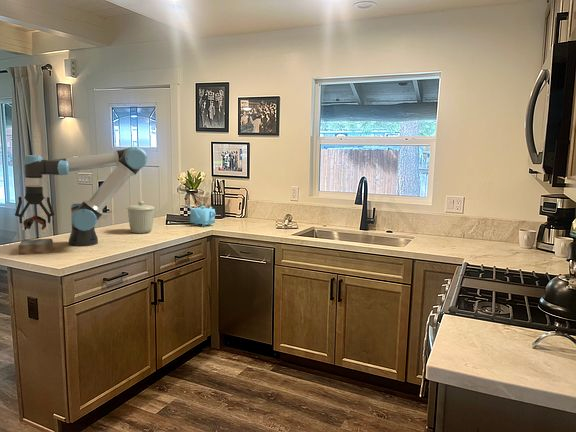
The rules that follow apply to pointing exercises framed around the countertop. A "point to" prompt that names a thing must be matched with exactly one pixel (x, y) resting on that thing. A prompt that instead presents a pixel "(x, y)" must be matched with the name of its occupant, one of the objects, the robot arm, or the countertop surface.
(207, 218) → the teakettle
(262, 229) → the countertop surface
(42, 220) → the brown headphones
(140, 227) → the canister
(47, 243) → the walnut plinth
